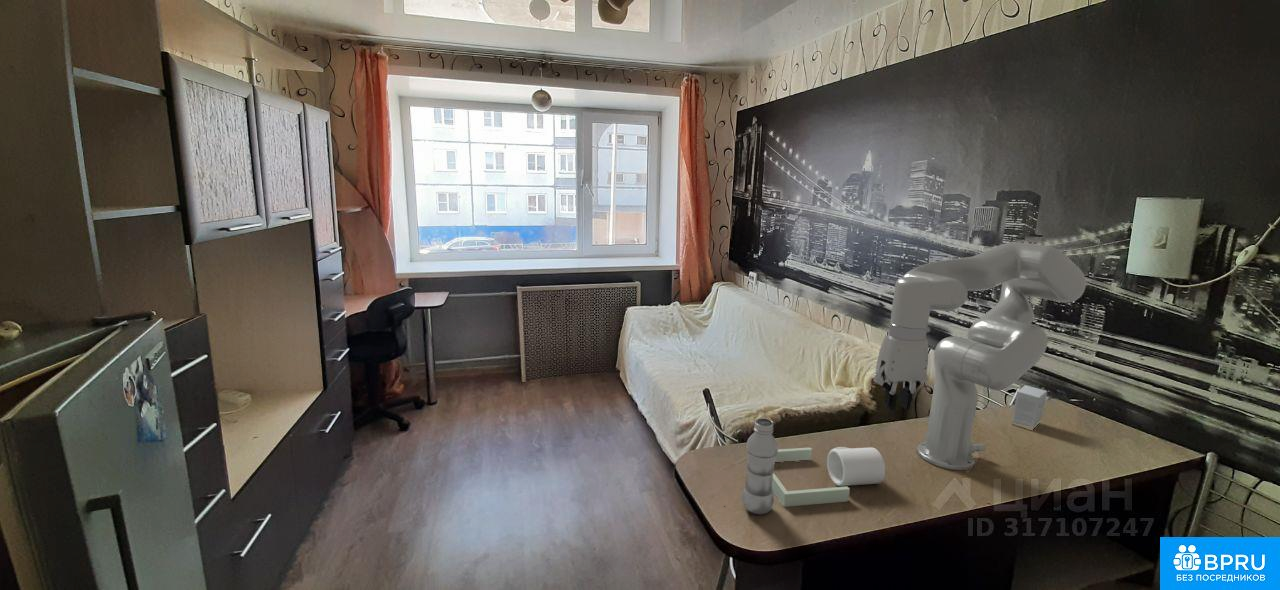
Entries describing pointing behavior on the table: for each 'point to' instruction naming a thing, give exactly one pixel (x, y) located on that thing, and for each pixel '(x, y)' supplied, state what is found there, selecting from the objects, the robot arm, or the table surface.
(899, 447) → the table surface
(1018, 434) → the table surface
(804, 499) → the green u-shaped bracket
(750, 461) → the plastic bottle
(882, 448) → the table surface
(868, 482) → the mug
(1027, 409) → the small box
